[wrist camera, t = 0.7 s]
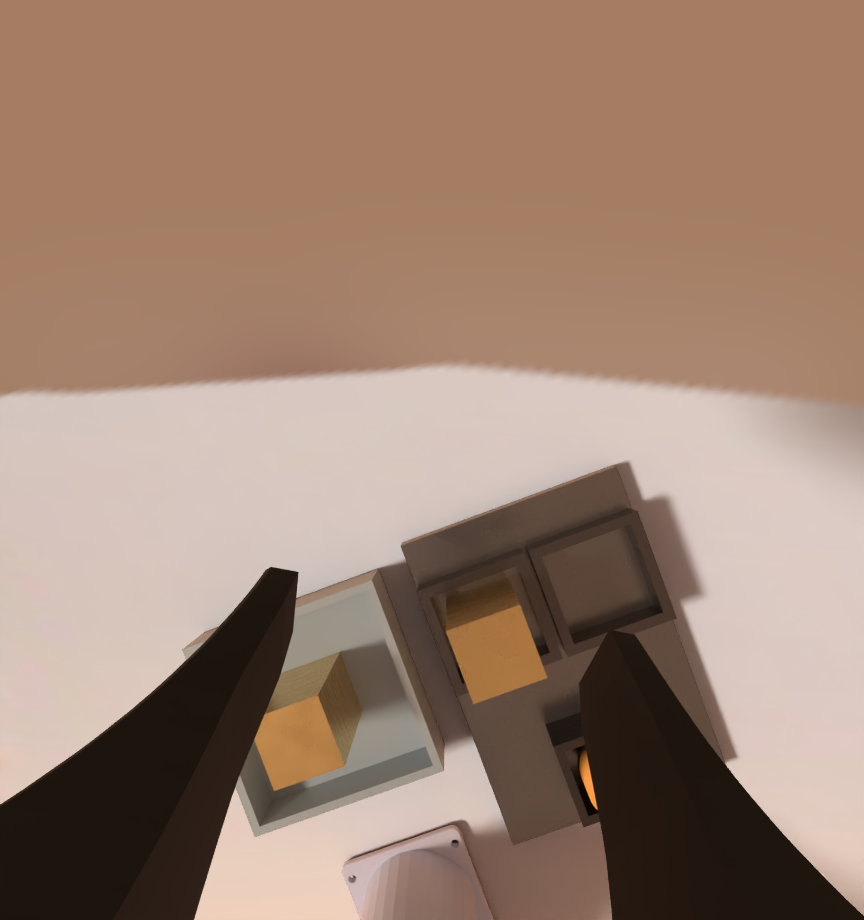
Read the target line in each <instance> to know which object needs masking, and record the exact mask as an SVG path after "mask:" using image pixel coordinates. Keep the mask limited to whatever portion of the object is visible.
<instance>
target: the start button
mask: <svg viewBox="0 0 864 920" xmlns="http://www.w3.org/2000/svg"><path fill="white" fill-rule="evenodd" d="M577 765H578V770H579V773H580V775H581V778H582V780H583V783H584V785H585V788H586V790H587V793H588V795H589V798H590V800H591V802H592V804H593V806H594V807H595V808H596V809H597V804H596V799H595V794H594V789H593V784H592V778H591V773H590V768H589V763H588V758H587V753H586V747H585V745H584V746H583V747H582V748H581V750H580V752H579V755H578V760H577ZM597 810H598V809H597Z"/></svg>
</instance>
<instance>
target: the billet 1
mask: <svg viewBox="0 0 864 920" xmlns="http://www.w3.org/2000/svg"><path fill="white" fill-rule="evenodd" d="M362 711H363V710H362V707H361V705H360V702H359V700H358V697H357V694H356V692H355V689H354V686H353V684H352V681H351V679H350V676H349V673H348V671H347V668H346V665H345V663H344V660H343V658H342V655H341V652H337V653H335V654H332V655H329V656H326V657H324V658H321V659H318V660H315V661H313V662H310V663H307V664H304V665H302V666H299V667H296V668H293V669H291V670H288V671H285V672H282V673H281V675H280V678H279V680H278V683H277V685H276V688H275V690H274V693H273V695H272V697H271V700H270V702H269V705H268V707H267V710H266V712H265V715H264V717H263V720H262V722H261V724H260V727H259V729H258V732H257V734H256V737H255V739H254V740H255V743H256V746H257V748H258V751H259V753H260V756H261V759H262V761H263V764H264V766H265V769H266V771H267V774H268V777H269V779H270V782H271V784H272V787H273V790H274V791H276V790H279V789H282V788H285V787H288V786H290V785H293V784H296V783H299V782H302V781H304V780H307V779H310V778H313V777H316V776H319V775H321V774H324V773H327V772H330V771H333V770H336V769H338V768H341V767H344V766H345V764H346V761H347V758H348V755H349V752H350V749H351V746H352V742H353V739H354V736H355V733H356V730H357V727H358V723H359V720H360V717H361V714H362Z"/></svg>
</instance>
